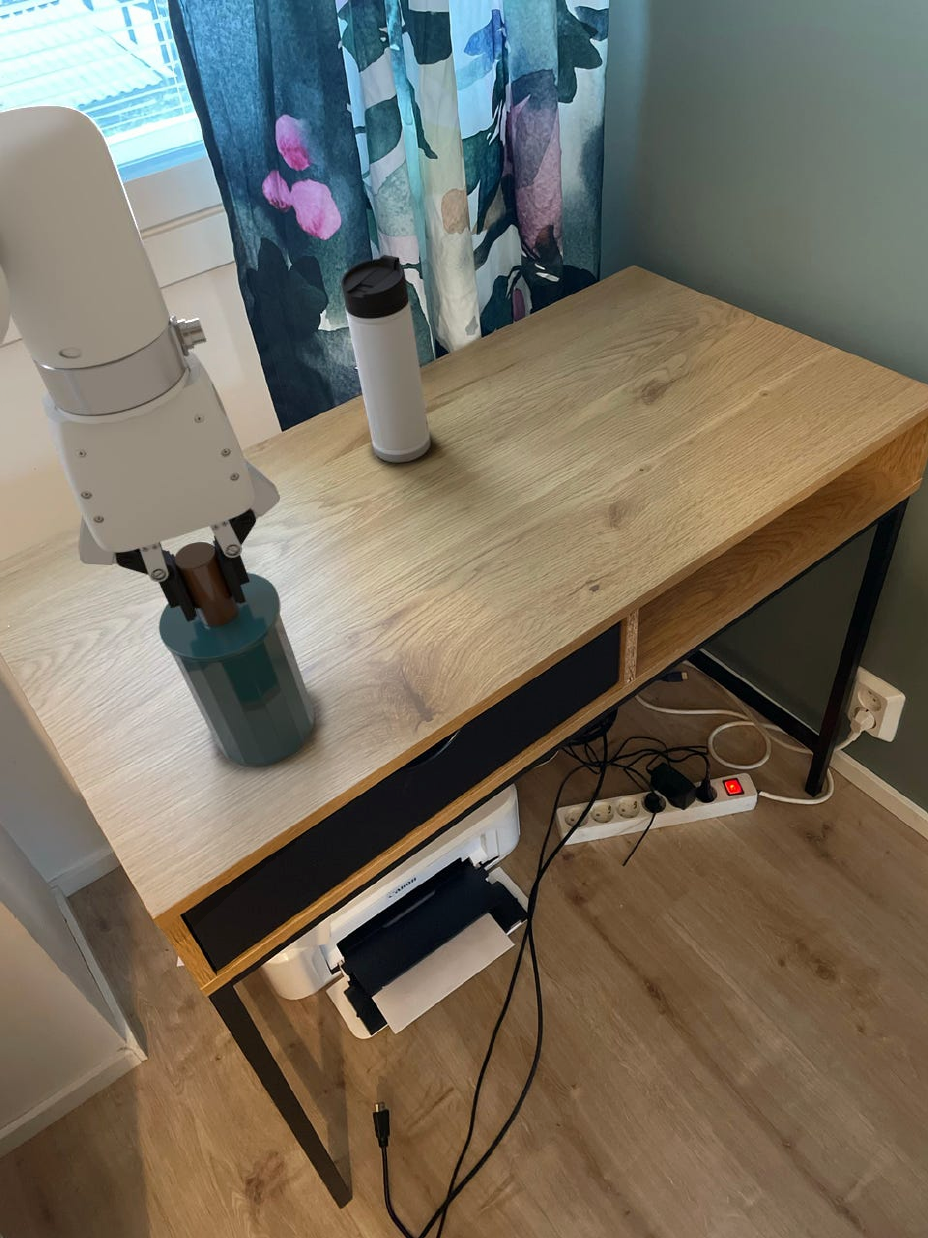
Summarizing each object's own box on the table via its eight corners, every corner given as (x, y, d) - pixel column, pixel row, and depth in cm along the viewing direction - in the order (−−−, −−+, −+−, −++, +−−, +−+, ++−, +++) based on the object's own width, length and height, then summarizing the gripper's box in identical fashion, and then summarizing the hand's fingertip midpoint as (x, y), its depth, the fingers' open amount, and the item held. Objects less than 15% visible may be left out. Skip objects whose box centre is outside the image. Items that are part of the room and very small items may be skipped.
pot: (227, 781, 70) (175, 678, 61) (209, 708, 75) (158, 604, 66) (326, 744, 71) (288, 638, 62) (300, 675, 76) (263, 569, 68)
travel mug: (443, 436, 99) (419, 259, 85) (409, 469, 96) (378, 290, 81) (397, 423, 102) (366, 249, 88) (363, 455, 98) (325, 278, 84)
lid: (174, 685, 61) (139, 617, 56) (155, 605, 66) (122, 537, 62) (295, 642, 62) (271, 572, 58) (267, 567, 68) (243, 499, 63)
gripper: (242, 297, 54) (310, 531, 67) (-38, 374, 50) (91, 604, 64) (271, 352, 49) (339, 594, 62) (-39, 441, 45) (102, 676, 59)
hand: (212, 597), depth 63 cm, fingers closed on lid, 2 cm apart
